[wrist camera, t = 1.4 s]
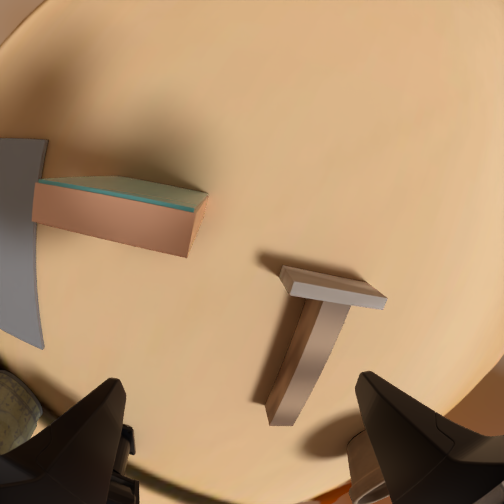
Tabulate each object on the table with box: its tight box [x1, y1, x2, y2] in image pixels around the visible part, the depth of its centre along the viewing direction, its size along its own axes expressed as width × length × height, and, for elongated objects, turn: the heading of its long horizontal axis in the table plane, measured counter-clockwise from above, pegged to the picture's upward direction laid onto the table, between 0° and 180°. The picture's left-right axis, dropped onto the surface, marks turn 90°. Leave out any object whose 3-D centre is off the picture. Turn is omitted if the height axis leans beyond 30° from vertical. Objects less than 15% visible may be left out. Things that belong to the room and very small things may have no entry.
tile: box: [32, 176, 209, 258], centre depth 13 cm, size 2×7×10 cm, turn 75°
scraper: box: [265, 265, 388, 426], centre depth 21 cm, size 15×8×4 cm, turn 166°
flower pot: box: [347, 430, 389, 504], centre depth 25 cm, size 12×11×10 cm
